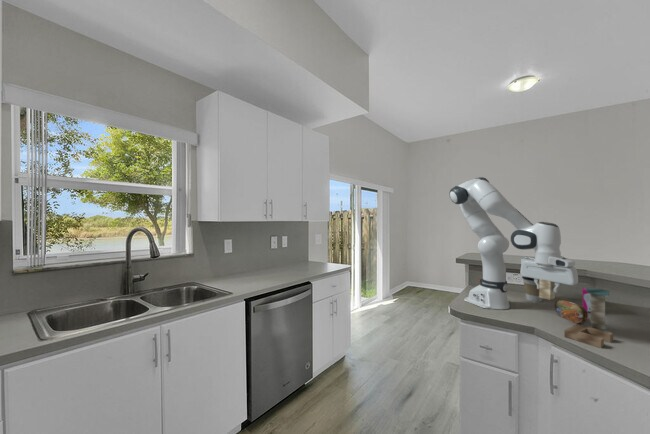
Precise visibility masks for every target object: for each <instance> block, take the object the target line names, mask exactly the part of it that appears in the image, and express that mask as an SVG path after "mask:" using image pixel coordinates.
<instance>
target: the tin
mask: <svg viewBox="0 0 650 434" xmlns="http://www.w3.org/2000/svg"><path fill="white" fill-rule="evenodd" d="M554 309H555V310H554V311H555V312H556V314H557V315H558V316H559V317H560V318H563V319H564V320H568V321H569V322H572V323H575V324H584V323H586V322H587V320H588V318H589V317H588V316H589V314H588V312H587V311H586V309H585V308H584V307H583V305H580V304H578V303H575V302H572V301H569V300H563V299H559V300H557V301H555V304H554Z"/></svg>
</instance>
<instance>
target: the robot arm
mask: <svg viewBox="0 0 650 434" xmlns="http://www.w3.org/2000/svg"><path fill="white" fill-rule="evenodd" d="M449 199H450V200H451V202H452V203H453V204H455V205H459V209H460V211H461V214H462V215H463V217H464V219H465V221H466V222H467V224H468V226H469V227H470V229H471V231H472V232H473V233H474V234H476V235H477V237H478V238H479V239H480V240H479V241H478V243H477V250H478V252H479V254H480V259H481V263H482V265H481V266H482V278H480V279H478V280H477V281H478V283H479V285H476V286H475V287H473V288H471V289H470V290H469V293H468V296H467V297H464V301H465V302H467V303H470V304H472V305H475V306H478V307H480V308H484V309H491V310H492V309H493V310H509V309H510V308H511V306H510V303H509V300H508V293H507V291H508V281H507V266H506V264H505V260H504V254H503V253H505V252H507V250H509V247H510V242H511V245H512V246H513V247H514V248H516V249H518V250H522V251H523V250H534V257H533V256H523V257H522V258H521V259H520V264H521V266H520V274H519V275H521V277H522V276H523V277H529V278H534V282H535V283H536V285H537V289H539V281H540V279H541V280H547V281H551V282H555V288H552V292H554V293H555V294H557V293H558V292H559V291H558V289H559V288H560V287H561V285H568V286H575V285H577V284H578V283H579V274H578V270H577V268H576V267H575V265H576V261H575V260H573V259H569V258H567V257H565V256H562V253H561V249H560V247H561V244H562V240H561V239H562V238H561V237H562V236H561V230H560V227H559V225H557V224H555V223H553V222H548V221H538V222H536V223H535V224H534V223H532V222H531V221H530V220H529V219H528V218H527V217H526V216H525V215H523V214H522V213H521V212H520V211H519V210H518V209H517V208H515V206H513V204H512V203H510V201H509V200H507V198H506V197H505V196H504V195H503V194H502V193H501V192H500V190H498V189H497V188H496V187H495V186H494V185H493V184H491V183H490V181H489V180H488V179H487V178H486V177H483V176H479V177H475V178H473V179H470V180H466V181H464V182H462V183H460V184H458V185H455V186H454V187H452V188H450V190H449ZM489 215H491V216H492V215H493V216H496V217H499V218H502V219H505V220H507V221H508V222H509V223H510V224H511V225H513V226H514V228H516V230H514V231H512V233H511V234H510V242H509V239H508V238H507V237H506V236H505V235H504V234H503V233H502V231H501V230H500V229H499V228H498V227H497V226H496V225H495V223H494V222H493V220H492V219H491V218H490V216H489Z"/></svg>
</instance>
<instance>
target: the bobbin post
mask: <svg viewBox="0 0 650 434" xmlns="http://www.w3.org/2000/svg"><path fill="white" fill-rule="evenodd" d="M585 288H586V292H588V293H590V305H591V313H590V326H588V325H587V326H588V327H591V328H595V329H599V330H603V331H607V332H610V330H608V329H606V296H610V291H609V290H608V289H603V288H596V287H585Z"/></svg>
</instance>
